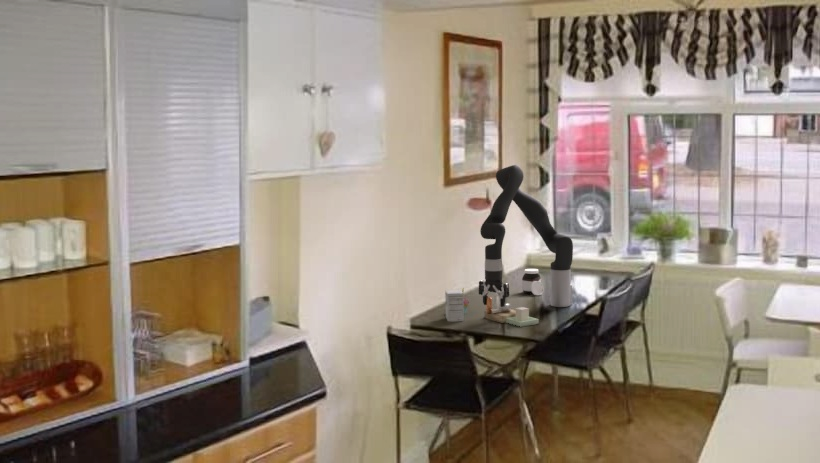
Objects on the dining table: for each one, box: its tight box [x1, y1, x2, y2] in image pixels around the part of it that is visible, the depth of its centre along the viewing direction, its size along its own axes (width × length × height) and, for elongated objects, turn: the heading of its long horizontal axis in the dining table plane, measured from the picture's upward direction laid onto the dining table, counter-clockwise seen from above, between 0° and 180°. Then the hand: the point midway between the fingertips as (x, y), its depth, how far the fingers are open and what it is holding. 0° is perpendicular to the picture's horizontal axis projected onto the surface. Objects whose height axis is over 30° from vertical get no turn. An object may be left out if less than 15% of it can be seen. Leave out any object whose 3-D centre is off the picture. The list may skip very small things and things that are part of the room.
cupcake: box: [461, 287, 470, 315], centre depth 444 cm, size 9×8×12 cm
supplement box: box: [444, 289, 465, 323], centre depth 432 cm, size 7×7×13 cm
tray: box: [505, 316, 540, 328], centre depth 423 cm, size 10×10×2 cm
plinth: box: [483, 307, 516, 324], centre depth 433 cm, size 13×13×3 cm
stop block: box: [515, 306, 530, 322], centre depth 423 cm, size 4×4×6 cm
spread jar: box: [521, 268, 545, 296], centre depth 485 cm, size 12×11×12 cm
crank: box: [485, 296, 512, 314], centre depth 430 cm, size 13×5×7 cm, turn 125°
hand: (494, 305), depth 425 cm, fingers open, 8 cm apart
